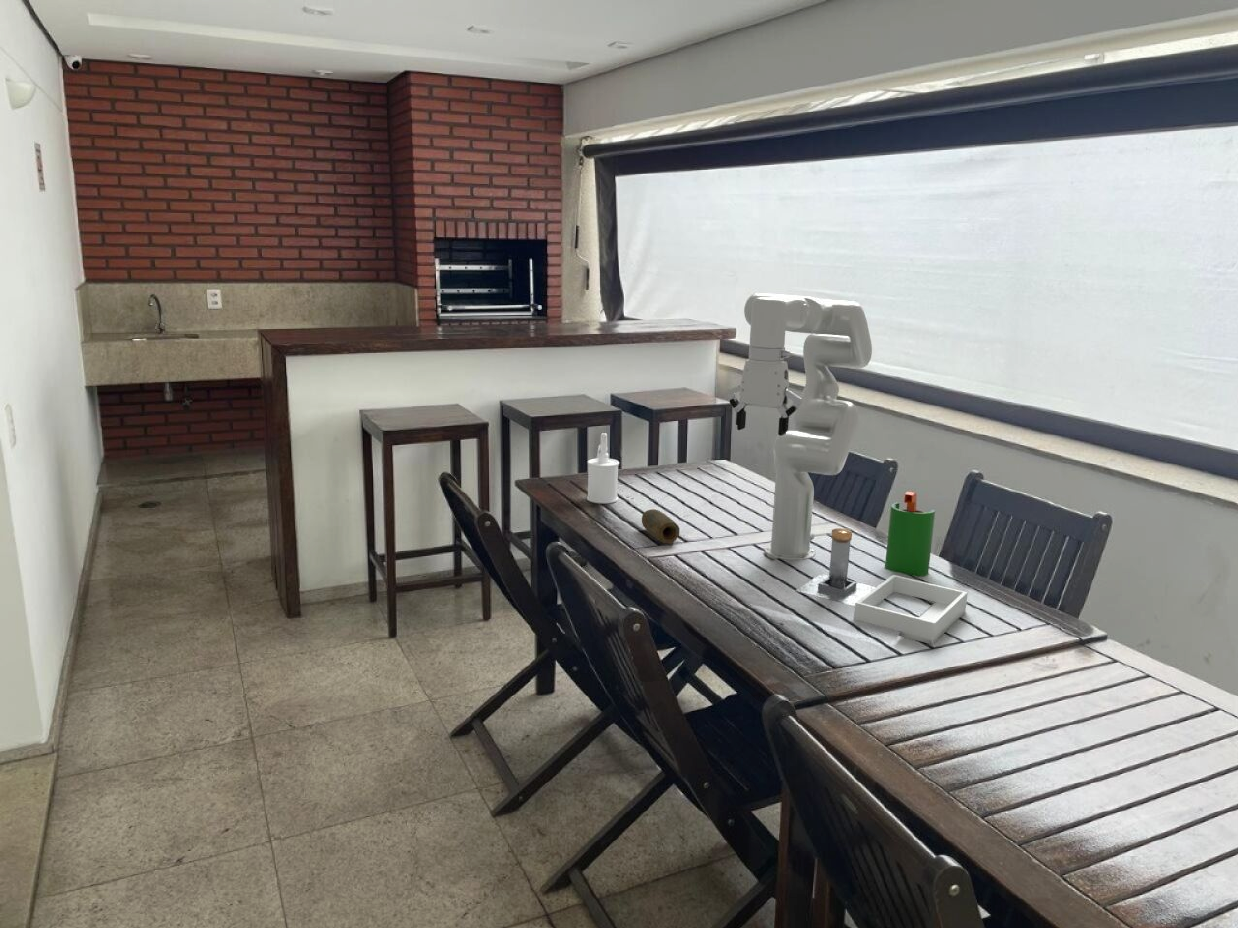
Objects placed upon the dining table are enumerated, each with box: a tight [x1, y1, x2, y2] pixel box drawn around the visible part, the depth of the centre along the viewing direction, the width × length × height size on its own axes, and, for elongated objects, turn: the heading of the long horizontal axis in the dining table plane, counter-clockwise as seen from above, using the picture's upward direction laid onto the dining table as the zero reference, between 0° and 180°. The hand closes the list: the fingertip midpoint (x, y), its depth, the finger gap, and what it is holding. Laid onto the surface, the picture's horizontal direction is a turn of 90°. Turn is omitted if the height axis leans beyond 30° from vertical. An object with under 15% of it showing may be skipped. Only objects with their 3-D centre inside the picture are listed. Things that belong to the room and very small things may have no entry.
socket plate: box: [794, 573, 877, 607], centre depth 217 cm, size 14×14×2 cm
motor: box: [884, 491, 936, 578], centre depth 231 cm, size 10×9×20 cm
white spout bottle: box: [586, 432, 620, 504], centre depth 285 cm, size 10×9×20 cm
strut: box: [828, 527, 853, 589], centre depth 216 cm, size 4×4×14 cm
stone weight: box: [641, 508, 680, 545], centre depth 253 cm, size 15×7×7 cm, turn 21°
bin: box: [853, 574, 969, 645], centre depth 205 cm, size 22×17×4 cm
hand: (761, 431), depth 214 cm, fingers open, 9 cm apart
